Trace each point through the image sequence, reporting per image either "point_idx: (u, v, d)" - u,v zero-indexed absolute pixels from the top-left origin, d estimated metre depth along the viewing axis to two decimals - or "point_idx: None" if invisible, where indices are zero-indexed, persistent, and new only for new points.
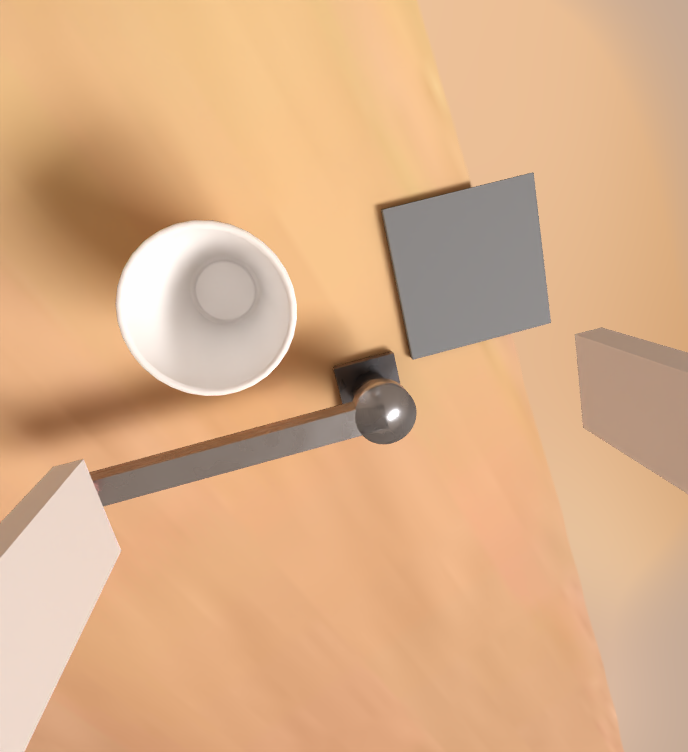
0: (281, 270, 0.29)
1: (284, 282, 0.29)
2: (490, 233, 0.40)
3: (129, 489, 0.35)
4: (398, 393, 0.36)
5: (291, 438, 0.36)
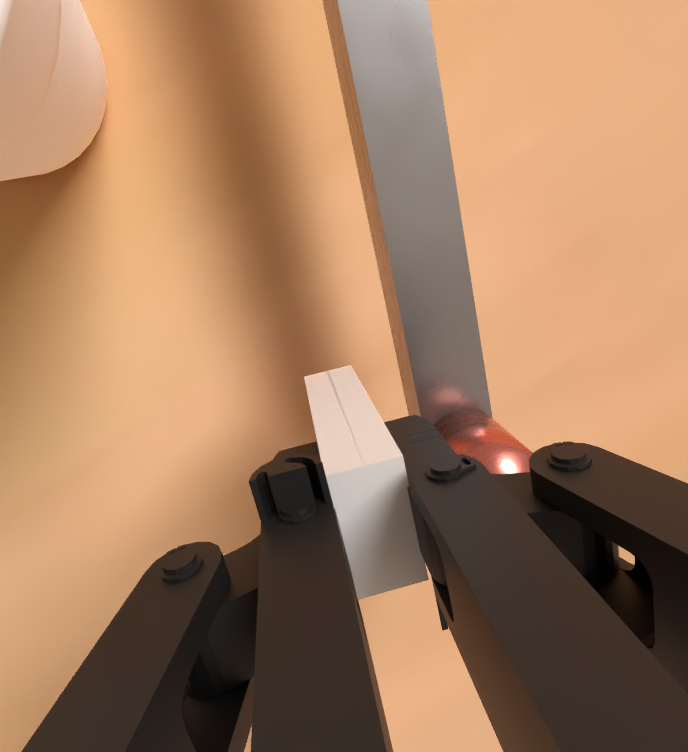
0: None
1: None
2: None
3: (449, 307, 0.13)
4: None
5: None
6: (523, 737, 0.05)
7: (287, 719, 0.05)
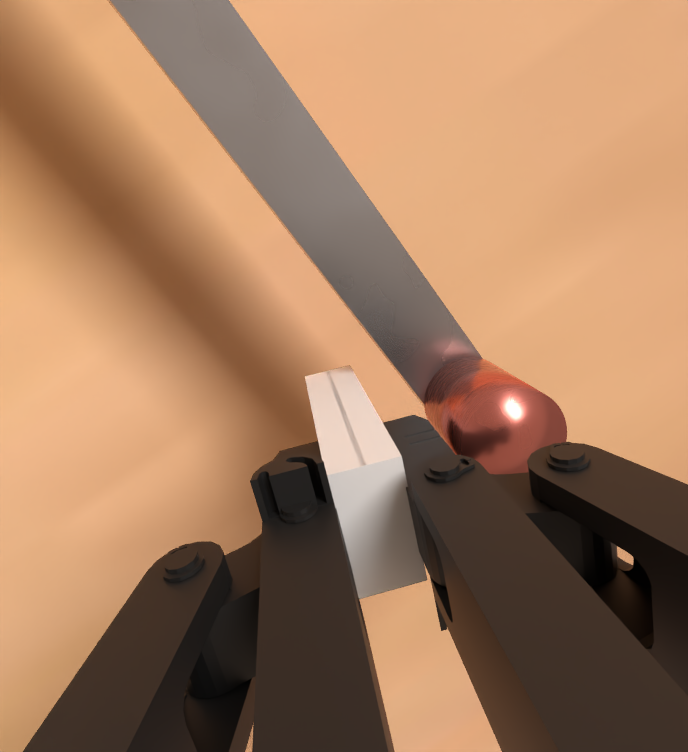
0: None
1: None
2: None
3: (389, 274, 0.13)
4: None
5: None
6: (522, 738, 0.05)
7: (288, 719, 0.05)
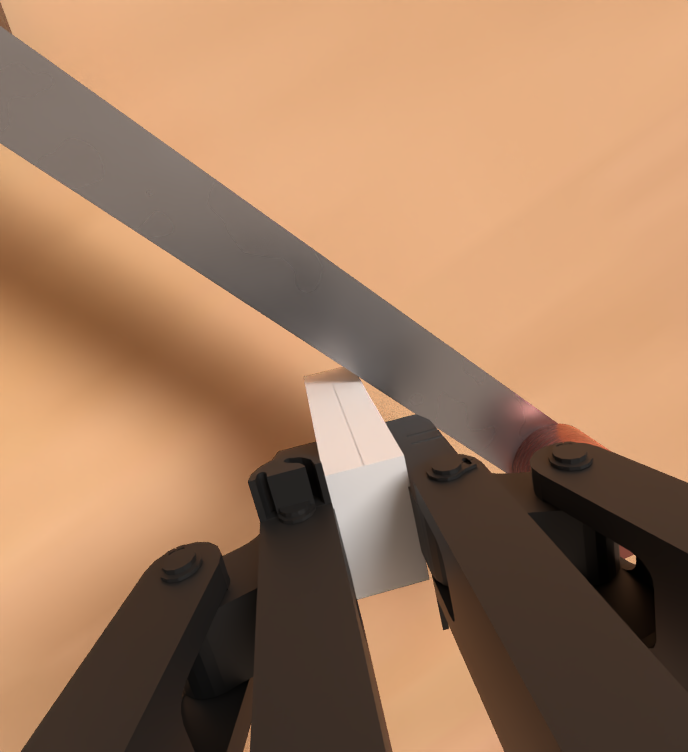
0: None
1: None
2: None
3: (453, 380, 0.14)
4: None
5: (24, 113, 0.11)
6: (524, 737, 0.05)
7: (286, 720, 0.05)
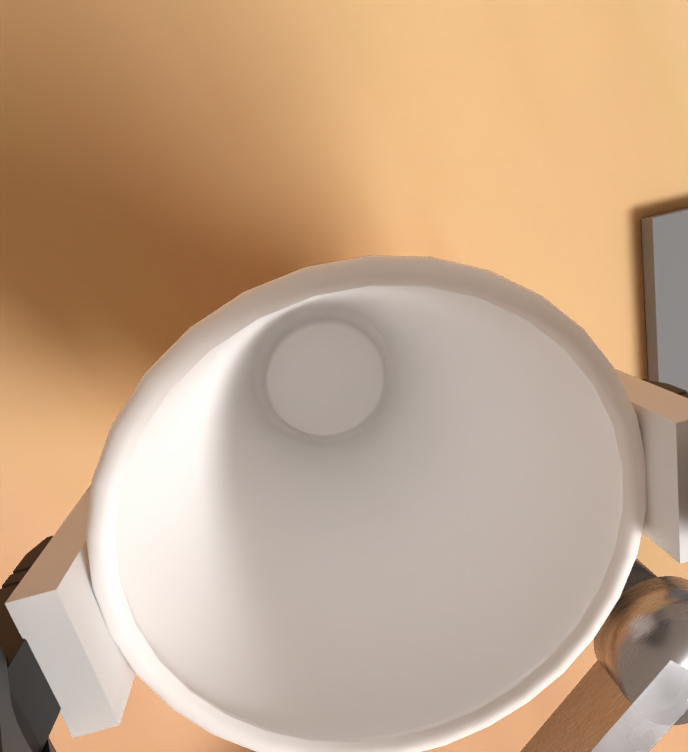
0: (628, 418, 0.09)
1: (626, 452, 0.09)
2: None
3: None
4: None
5: None
6: None
7: None
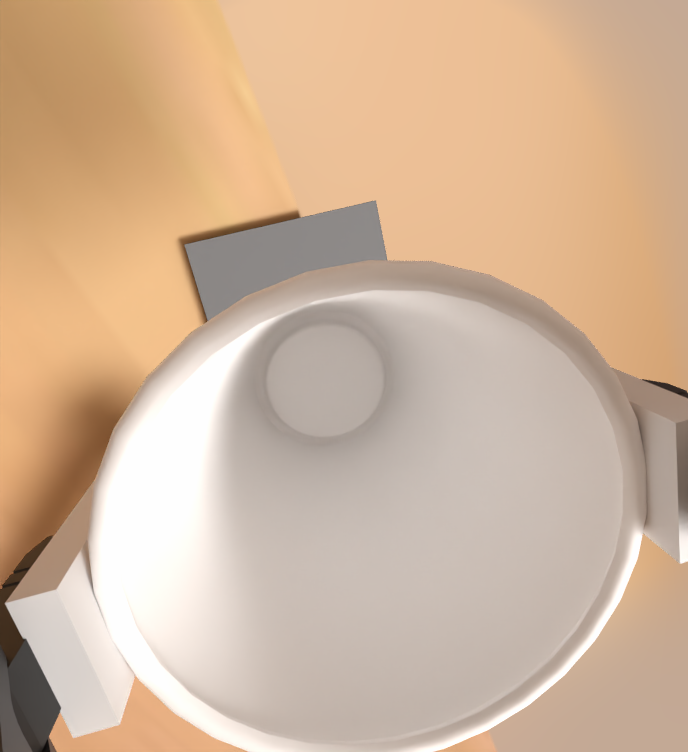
0: (628, 422, 0.09)
1: (626, 455, 0.09)
2: None
3: None
4: None
5: None
6: None
7: None
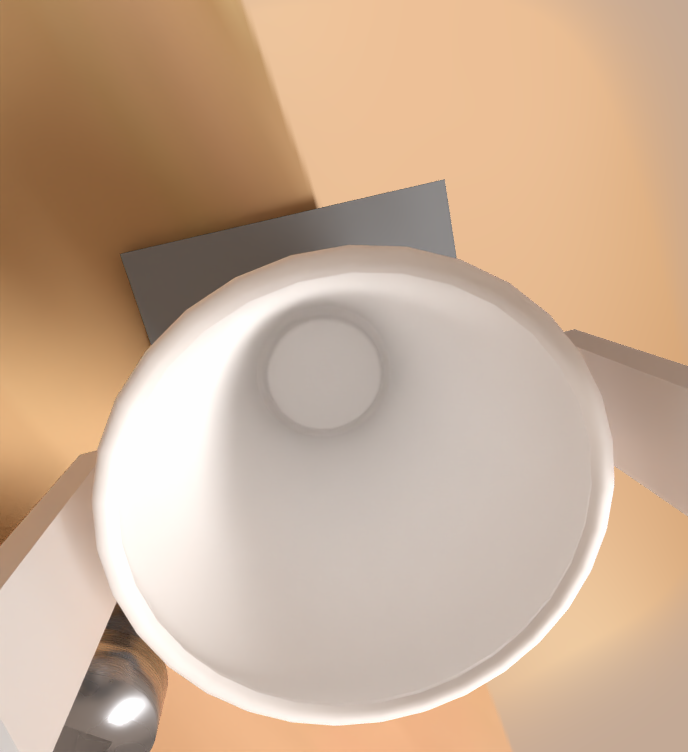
0: (593, 398, 0.09)
1: (593, 430, 0.10)
2: None
3: None
4: None
5: None
6: None
7: None
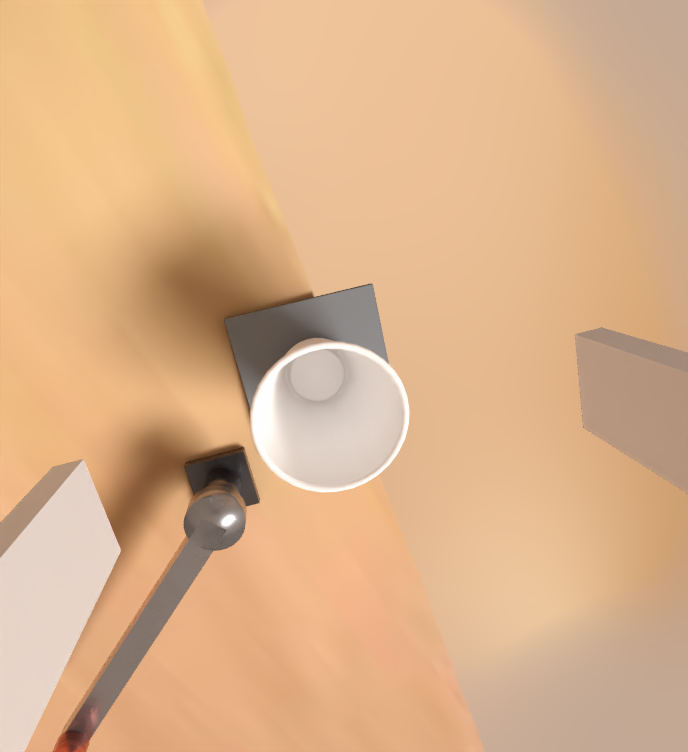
0: (398, 383, 0.31)
1: (400, 393, 0.32)
2: (333, 340, 0.41)
3: (100, 706, 0.41)
4: (206, 503, 0.37)
5: (166, 593, 0.39)
6: None
7: None
